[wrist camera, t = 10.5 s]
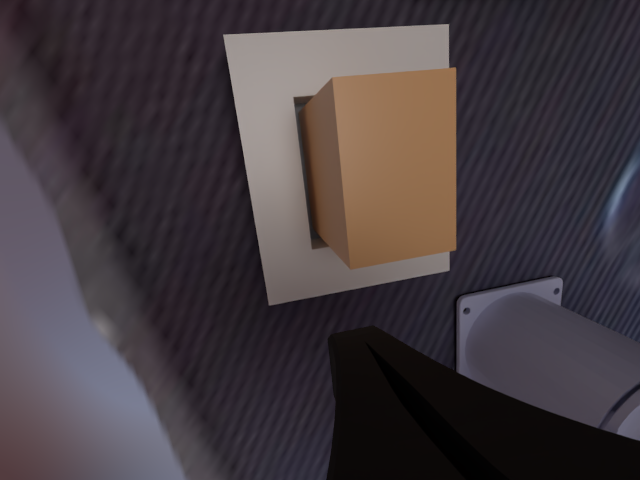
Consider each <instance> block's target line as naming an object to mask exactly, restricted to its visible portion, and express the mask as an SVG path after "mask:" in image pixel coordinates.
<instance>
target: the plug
mask: <svg viewBox="0 0 640 480" xmlns="http://www.w3.org/2000/svg"><path fill="white" fill-rule="evenodd" d="M298 113H299V121H300V129H301V137H302V146H303V154H304V162H305V170H306V178H307V186H308V194H309V202H310V210H311V218H312V226H313V229H314V230H315V231H316V232H317V234H318V235H319V236H320V237H321V238H322V239H323V240H324V241H325V242H326V243H327V245H328V246H329V247H330V248H331V249H332V250H333V251H334V252H335V253H336V254H337V256H338V257H339V258H340V259H341V260H342V261H343V262H344V263H345V264H346V265H347V266H348V268H349V269H350V270H352V269H357V268H363V267H368V266H374V265H379V264H384V263H390V262H395V261H400V260H406V259H411V258H416V257H422V256H427V255H433V254H438V253H443V252H449V251H454V250H456V68H444V69H432V70H419V71H406V72H393V73H380V74H367V75H354V76H341V77H332V78H331V79H330V80H329V81H328V82H327V83H326V84H325V85H324V86H323V87H322V88H321V89H320V90H319V91H318V93H317V94H316V95H315V96H314V97H313V98H312V99H311V100H310V101H309V102H308V103H307V104H306V105H305V106H304V107H303V108H302V109H301V110H300V111H299V112H298Z"/></svg>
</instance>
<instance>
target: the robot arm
mask: <svg viewBox="0 0 640 480" xmlns="http://www.w3.org/2000/svg"><path fill="white" fill-rule="evenodd" d="M562 286H563V281H562V279H561V278H559V277H556V276H552V277H548V278H543V279H538V280H533V281H529V282H524V283H519V284H514V285H510V286H505V287H500V288H495V289H491V290H486V291H481V292H476V293H472V294H467V295H463V296H461V297H460V298H459V299H458V300H457V360H456V371H454V370H451V369H450V368H448V367H446V366H444V365H442V364H440V363H438V362H436V361H434V360H433V359H431V358H429V357H427V356H425V355H424V354H422V353H420V352H418V351H416V350H415V349H413V348H411V347H410V346H408V345H406V344H404V343H403V342H401V341H399V340H398V339H396V338H394V337H393V336H391V335H389V334H388V333H386V332H384V331H382V330H381V329H379V328H377V327H375V326H369V327H364V328H359V329H354V330H349V331H344V332H340V333H335V334H331V335H330V337H329V338H328V346H329V355H330V364H331V374H332V383H333V393H334V397H335V401H336V406H335V422H334V432H333V440H332V448H331V455H330V462H329V468H328V473H327V479H326V480H640V343H638V342H636V341H634V340H632V339H630V338H628V337H626V336H623V335H621V334H619V333H617V332H615V331H613V330H611V329H609V328H606V327H604V326H602V325H600V324H598V323H596V322H594V321H592V320H589V319H587V318H585V317H583V316H581V315H579V314H577V313H574V312H572V311H570V310H568V309H566V308H564V307H562V306H561V296H562ZM465 308H466V310H465V311H464V309H465ZM463 311H464V312H463Z"/></svg>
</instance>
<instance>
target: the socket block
mask: <svg viewBox="0 0 640 480" xmlns="http://www.w3.org/2000/svg"><path fill="white" fill-rule="evenodd" d="M224 41H225V47H226V53H227V59H228V65H229V71H230V77H231V83H232V89H233V95H234V101H235V107H236V113H237V118H238V124H239V130H240V136H241V142H242V148H243V154H244V160H245V166H246V172H247V178H248V184H249V190H250V196H251V202H252V207H253V213H254V219H255V225H256V231H257V237H258V243H259V249H260V255H261V261H262V267H263V273H264V279H265V285H266V290H267V296H268V302H269V306H270V305H275V304H280V303H285V302H290V301H295V300H301V299H306V298H311V297H316V296H321V295H326V294H332V293H337V292H342V291H347V290H352V289H357V288H362V287H368V286H373V285H378V284H383V283H388V282H393V281H399V280H404V279H409V278H414V277H419V276H424V275H429V274H435V273H440V272H445V271H449V252H443V253H438V254H433V255H427V256H422V257H416V258H411V259H406V260H400V261H395V262H390V263H384V264H379V265H374V266H368V267H363V268H357V269H352V270H350V269H349V268H348V266H347V265H346V264H345V263H344V262H343V261H342V260H341V259H340V258H339V257H338V256H337V254H336V253H335V252H334V251H333V250H332V249H331V248H330V247H329V246H328V245H327V243H326V242H325V241H324V240H323V239H322V238H321V237H320V236H319V235H318V234H317V232H316V231H315V230H314V229H313V226H312V218H311V210H310V202H309V194H308V186H307V178H306V170H305V162H304V154H303V146H302V137H301V129H300V121H299V113H298V112H299V111H300V110H301V109H302V108H303V107H304V106H305V105H306V104H307V103H308V102H309V101H310V100H311V99H312V98H313V97H314V96H315V95H316V94H317V93H318V91H319V90H320V89H321V88H322V87H323V86H324V85H325V84H326V83H327V82H328V81H329V80H330V79H331V78H332V77H341V76H354V75H367V74H380V73H393V72H406V71H419V70H432V69H444V68H449V24H445V25H423V26H402V27H380V28H359V29H338V30H316V31H295V32H273V33H252V34H231V35H224Z"/></svg>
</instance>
